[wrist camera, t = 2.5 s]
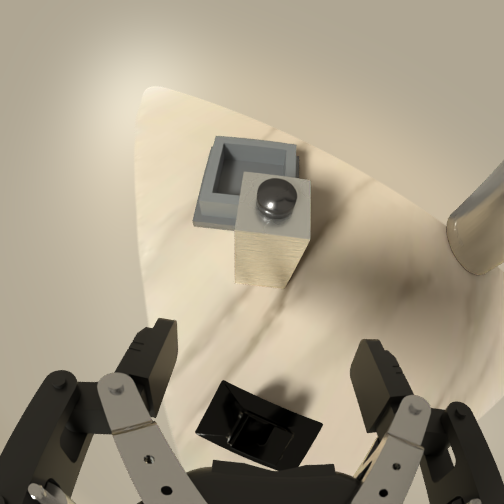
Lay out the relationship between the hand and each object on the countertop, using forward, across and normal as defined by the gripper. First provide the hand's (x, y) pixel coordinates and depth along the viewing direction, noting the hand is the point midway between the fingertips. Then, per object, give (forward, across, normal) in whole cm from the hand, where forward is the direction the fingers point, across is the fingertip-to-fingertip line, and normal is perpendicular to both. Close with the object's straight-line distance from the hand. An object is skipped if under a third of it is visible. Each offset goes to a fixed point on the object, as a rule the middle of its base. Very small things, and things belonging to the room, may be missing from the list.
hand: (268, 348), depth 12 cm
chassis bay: (+21, +2, -3) cm, 21 cm away
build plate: (+5, -1, +14) cm, 15 cm away
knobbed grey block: (+15, 0, +3) cm, 16 cm away
